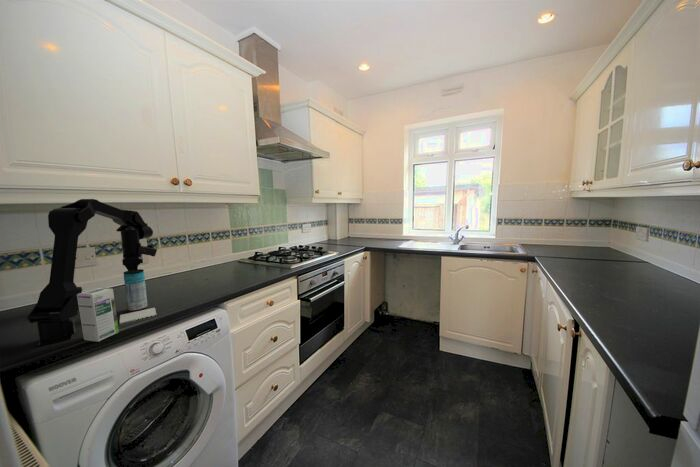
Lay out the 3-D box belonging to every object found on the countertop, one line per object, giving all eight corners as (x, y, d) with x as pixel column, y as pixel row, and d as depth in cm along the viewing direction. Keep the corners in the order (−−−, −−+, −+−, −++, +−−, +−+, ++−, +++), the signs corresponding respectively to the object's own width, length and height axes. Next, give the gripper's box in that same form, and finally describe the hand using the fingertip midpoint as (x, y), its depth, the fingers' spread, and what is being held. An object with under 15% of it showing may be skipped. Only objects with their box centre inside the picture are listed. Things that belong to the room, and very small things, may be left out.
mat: (119, 323, 87) (119, 322, 87) (120, 316, 93) (120, 315, 93) (156, 315, 93) (156, 314, 93) (154, 308, 99) (154, 307, 99)
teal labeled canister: (146, 305, 103) (142, 268, 101) (149, 309, 99) (144, 271, 97) (126, 309, 99) (122, 271, 97) (128, 314, 95) (124, 274, 93)
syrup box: (98, 342, 75) (92, 294, 74) (82, 340, 77) (76, 293, 75) (119, 332, 81) (113, 287, 79) (104, 331, 82) (98, 286, 80)
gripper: (156, 241, 106) (160, 278, 108) (153, 237, 120) (156, 270, 122) (120, 244, 99) (124, 284, 101) (121, 239, 113) (125, 274, 115)
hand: (134, 277), depth 110 cm, fingers closed
